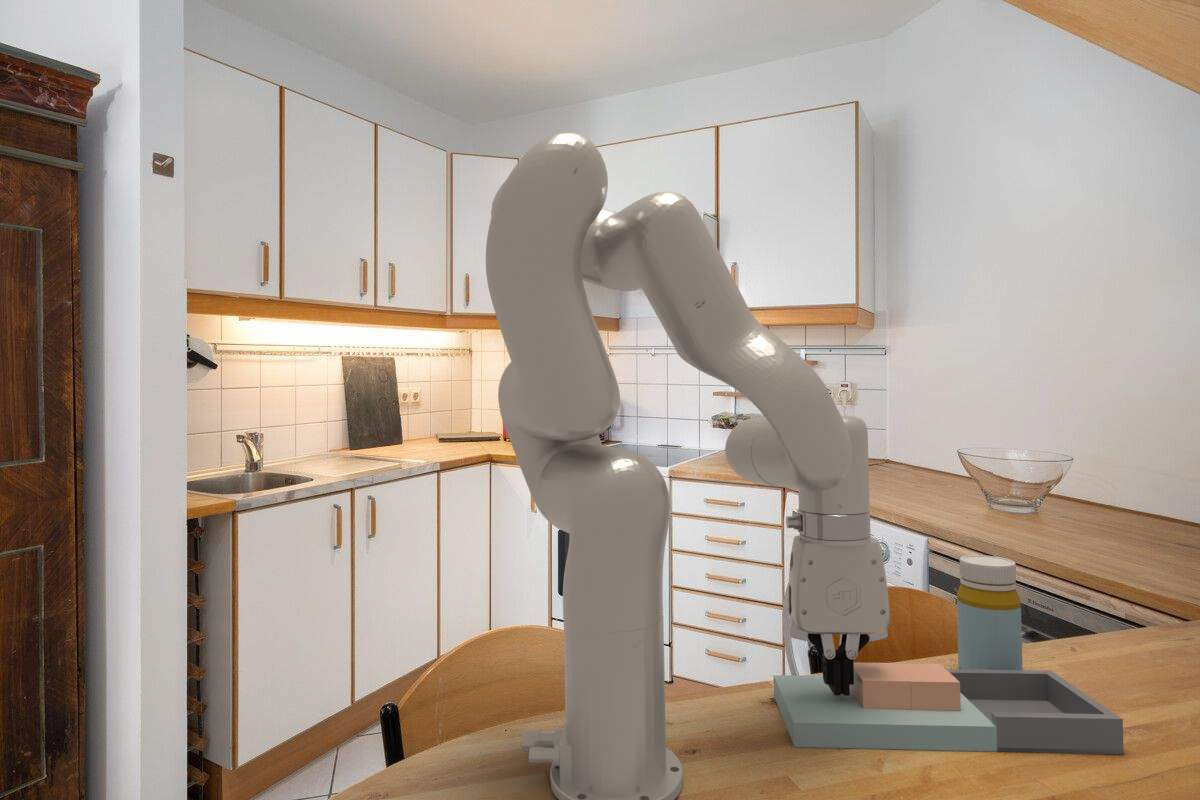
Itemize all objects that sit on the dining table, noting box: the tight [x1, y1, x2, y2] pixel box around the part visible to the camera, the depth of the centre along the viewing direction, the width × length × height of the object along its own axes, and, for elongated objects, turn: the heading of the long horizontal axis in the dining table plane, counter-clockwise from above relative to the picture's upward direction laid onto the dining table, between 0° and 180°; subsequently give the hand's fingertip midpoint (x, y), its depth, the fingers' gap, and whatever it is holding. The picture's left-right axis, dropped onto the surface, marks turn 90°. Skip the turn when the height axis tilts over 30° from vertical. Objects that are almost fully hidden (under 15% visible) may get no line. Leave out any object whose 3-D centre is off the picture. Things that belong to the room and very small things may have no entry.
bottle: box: [956, 554, 1024, 670], centre depth 84 cm, size 7×7×15 cm
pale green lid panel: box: [772, 674, 997, 752], centre depth 73 cm, size 20×12×2 cm, turn 85°
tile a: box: [850, 662, 912, 709], centre depth 73 cm, size 5×5×3 cm
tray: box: [945, 668, 1125, 755], centre depth 72 cm, size 12×12×4 cm
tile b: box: [894, 662, 961, 711], centre depth 73 cm, size 5×5×3 cm
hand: (838, 690), depth 74 cm, fingers closed
